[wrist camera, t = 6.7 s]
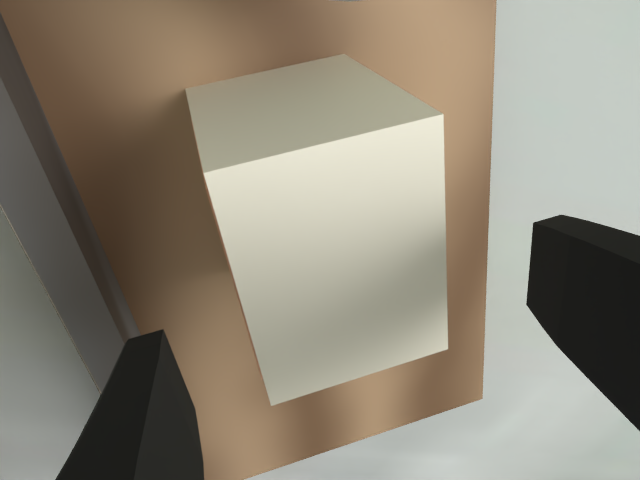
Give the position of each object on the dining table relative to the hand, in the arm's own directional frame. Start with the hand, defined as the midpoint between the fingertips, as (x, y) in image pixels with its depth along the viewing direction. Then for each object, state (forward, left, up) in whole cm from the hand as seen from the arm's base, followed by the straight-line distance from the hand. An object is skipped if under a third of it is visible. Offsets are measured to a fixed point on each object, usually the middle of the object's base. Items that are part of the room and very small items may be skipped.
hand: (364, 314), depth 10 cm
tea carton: (0, 0, -7) cm, 7 cm away
